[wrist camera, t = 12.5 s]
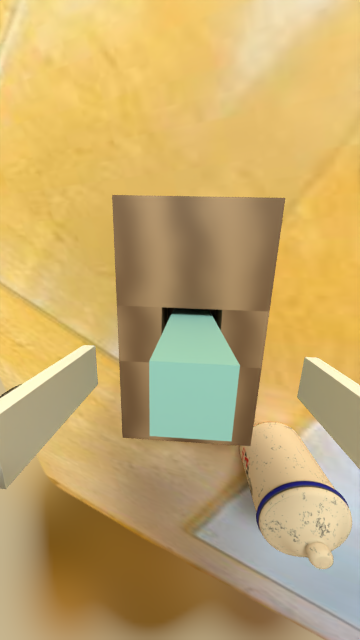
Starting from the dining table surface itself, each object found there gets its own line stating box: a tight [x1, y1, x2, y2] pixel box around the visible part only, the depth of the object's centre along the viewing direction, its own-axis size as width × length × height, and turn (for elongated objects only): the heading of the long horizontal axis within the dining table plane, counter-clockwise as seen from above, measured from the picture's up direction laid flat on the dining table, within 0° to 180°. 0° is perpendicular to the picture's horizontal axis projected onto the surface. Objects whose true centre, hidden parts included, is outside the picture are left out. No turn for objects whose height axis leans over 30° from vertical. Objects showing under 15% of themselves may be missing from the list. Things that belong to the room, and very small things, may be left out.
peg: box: [149, 308, 240, 441], centre depth 16 cm, size 4×4×14 cm
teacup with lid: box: [240, 422, 352, 569], centre depth 22 cm, size 12×9×12 cm
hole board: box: [112, 195, 285, 446], centre depth 21 cm, size 14×24×6 cm, turn 178°
